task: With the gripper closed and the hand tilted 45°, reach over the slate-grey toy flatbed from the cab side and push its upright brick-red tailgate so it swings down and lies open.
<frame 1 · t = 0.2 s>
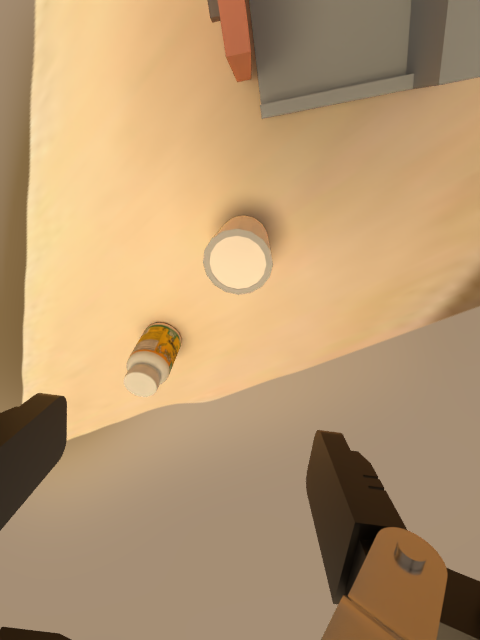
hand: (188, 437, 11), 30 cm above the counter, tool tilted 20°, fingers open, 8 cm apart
tan cylinder: (243, 239, 38), on the counter
flatbed: (237, 17, 28), on the counter
supplement bottle: (164, 336, 47), on the counter
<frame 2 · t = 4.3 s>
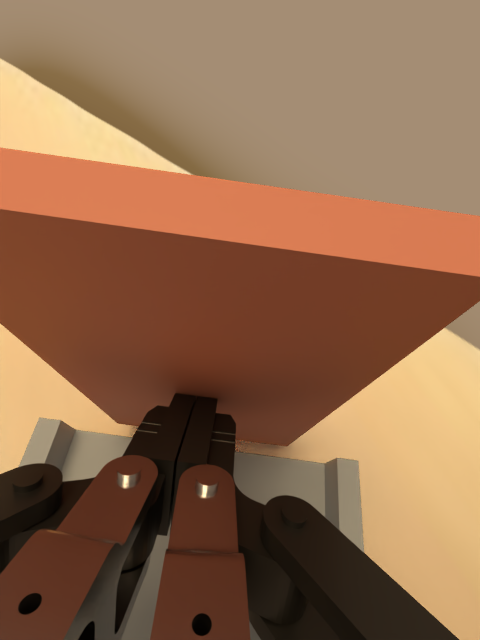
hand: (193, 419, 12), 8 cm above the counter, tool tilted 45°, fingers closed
flatbed: (204, 431, 20), on the counter
tailgate: (201, 368, 11), point 10 cm above the counter, hinge at -1.4°, touching gripper
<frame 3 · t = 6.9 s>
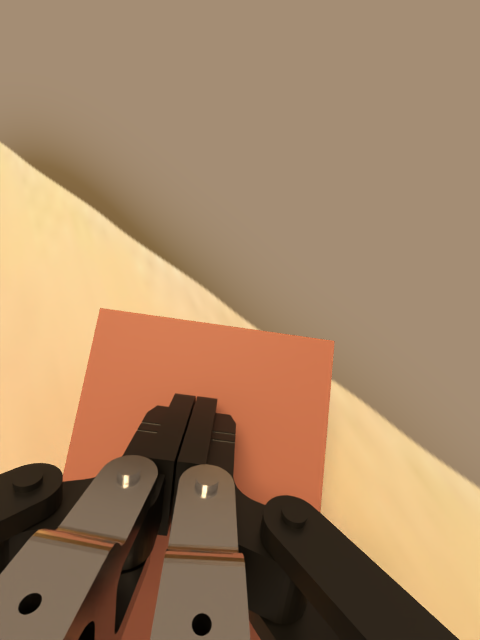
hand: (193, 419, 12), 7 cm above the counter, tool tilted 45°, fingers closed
tailgate: (187, 529, 12), point 4 cm above the counter, hinge at 70.1°, touching gripper
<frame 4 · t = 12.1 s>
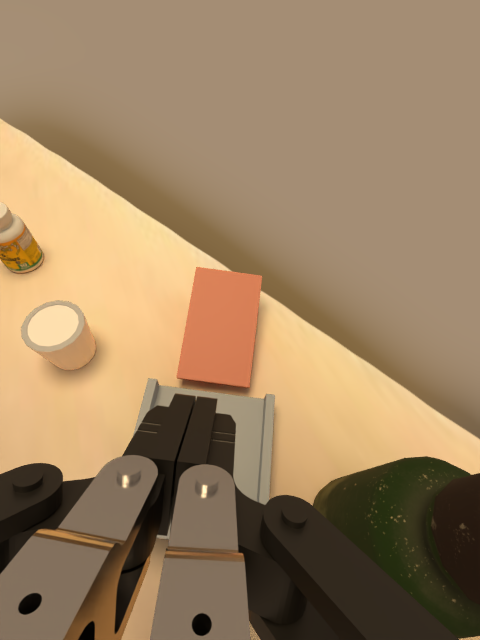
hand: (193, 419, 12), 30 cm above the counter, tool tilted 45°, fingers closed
green water bottle: (354, 529, 37), on the counter
tan cylinder: (74, 351, 44), on the counter
flatbed: (212, 388, 43), on the counter
tailgate: (221, 325, 44), point 4 cm above the counter, hinge at 75.5°
supplement bottle: (26, 261, 51), on the counter
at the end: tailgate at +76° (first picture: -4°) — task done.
